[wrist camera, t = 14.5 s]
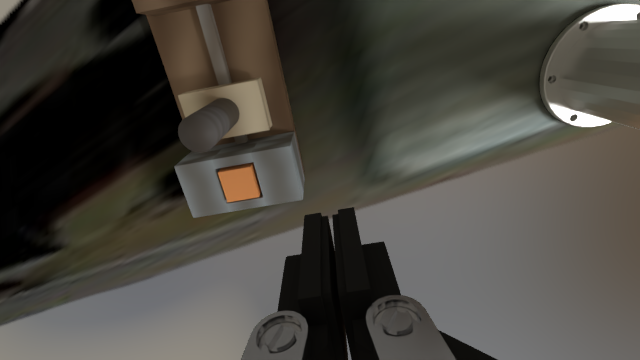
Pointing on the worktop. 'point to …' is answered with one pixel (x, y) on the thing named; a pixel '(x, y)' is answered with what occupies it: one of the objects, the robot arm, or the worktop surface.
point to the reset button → (240, 182)
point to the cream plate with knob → (222, 113)
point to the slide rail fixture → (223, 68)
